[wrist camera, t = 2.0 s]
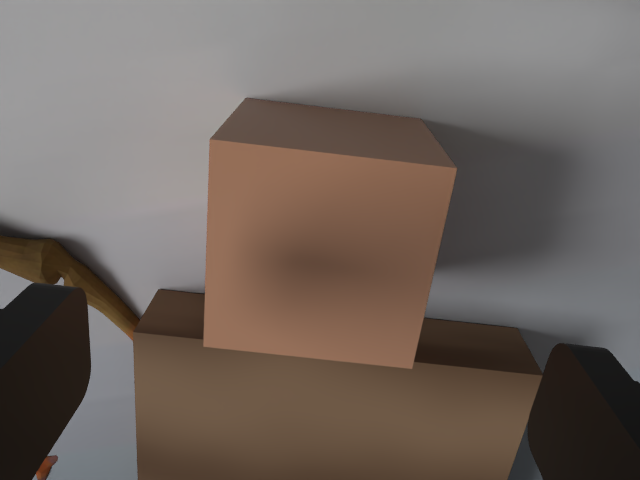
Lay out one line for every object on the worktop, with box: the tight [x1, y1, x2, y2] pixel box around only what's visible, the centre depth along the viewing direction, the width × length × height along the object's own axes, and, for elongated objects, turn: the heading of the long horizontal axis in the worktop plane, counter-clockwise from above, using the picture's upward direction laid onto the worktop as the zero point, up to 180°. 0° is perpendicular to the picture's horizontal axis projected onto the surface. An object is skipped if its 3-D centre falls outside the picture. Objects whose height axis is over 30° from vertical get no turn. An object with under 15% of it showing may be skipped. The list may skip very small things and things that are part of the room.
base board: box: [133, 289, 543, 480], centre depth 19 cm, size 10×12×2 cm
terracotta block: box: [203, 98, 457, 369], centre depth 14 cm, size 5×5×5 cm
